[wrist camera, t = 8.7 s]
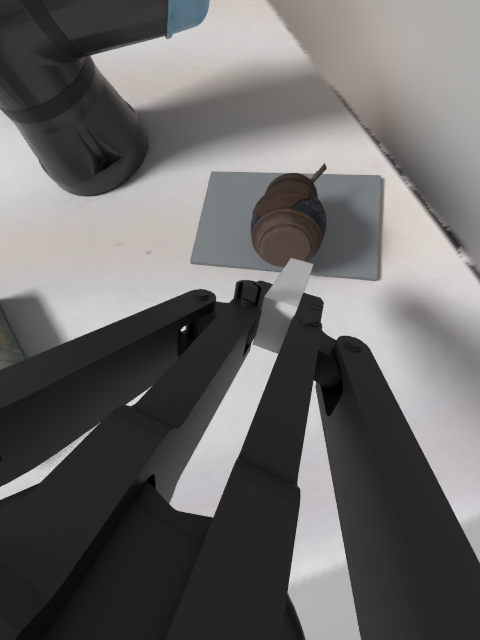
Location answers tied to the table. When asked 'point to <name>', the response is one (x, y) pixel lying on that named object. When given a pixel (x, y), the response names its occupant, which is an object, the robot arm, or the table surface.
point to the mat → (342, 222)
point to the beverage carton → (8, 345)
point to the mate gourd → (289, 220)
